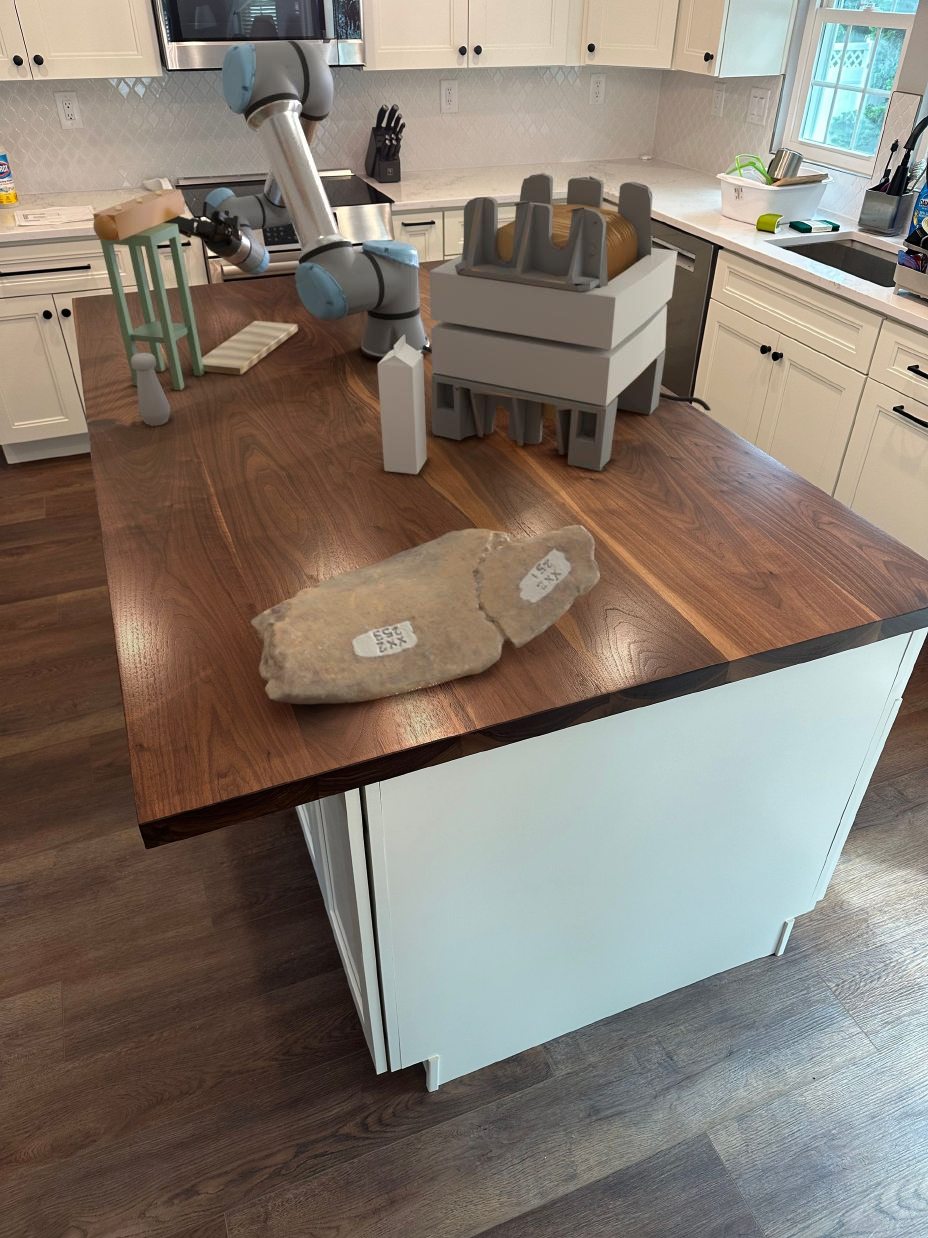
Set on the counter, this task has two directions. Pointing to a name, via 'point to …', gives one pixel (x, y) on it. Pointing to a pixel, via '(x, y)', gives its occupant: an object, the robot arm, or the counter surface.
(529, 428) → the transformer
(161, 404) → the salt shaker
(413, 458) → the milk
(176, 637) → the counter surface
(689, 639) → the counter surface
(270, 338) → the bread board
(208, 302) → the counter surface
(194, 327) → the green shelf
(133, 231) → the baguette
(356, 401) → the counter surface
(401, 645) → the rock
